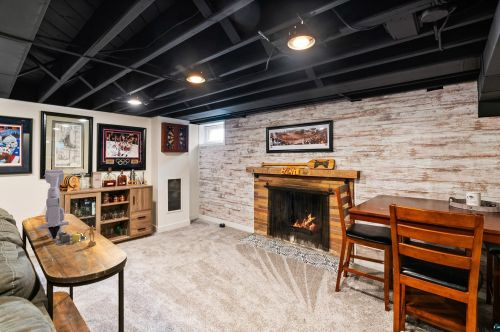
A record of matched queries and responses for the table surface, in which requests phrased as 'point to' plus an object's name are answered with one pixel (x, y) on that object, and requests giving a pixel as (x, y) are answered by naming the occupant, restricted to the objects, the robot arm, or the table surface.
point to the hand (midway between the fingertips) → (54, 238)
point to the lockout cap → (75, 237)
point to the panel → (60, 243)
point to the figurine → (92, 242)
